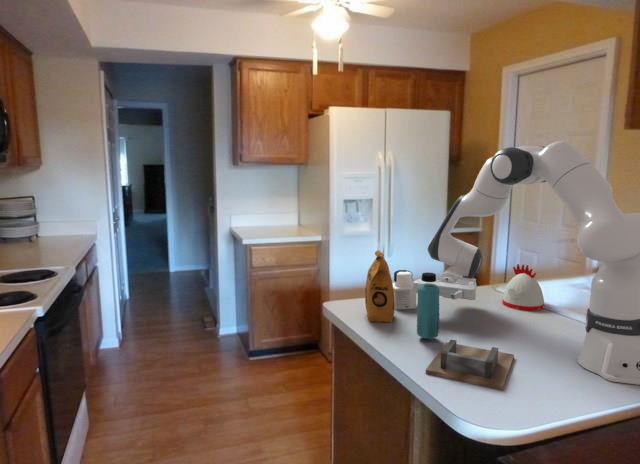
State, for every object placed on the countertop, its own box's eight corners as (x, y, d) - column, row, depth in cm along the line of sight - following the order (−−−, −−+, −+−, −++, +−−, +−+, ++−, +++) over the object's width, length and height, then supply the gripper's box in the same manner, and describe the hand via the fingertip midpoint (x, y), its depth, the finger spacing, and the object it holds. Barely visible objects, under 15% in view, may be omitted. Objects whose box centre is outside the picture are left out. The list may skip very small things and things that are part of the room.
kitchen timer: (512, 297, 179) (515, 259, 176) (549, 305, 169) (552, 264, 166) (495, 304, 169) (497, 264, 167) (533, 313, 159) (536, 271, 157)
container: (389, 303, 172) (390, 269, 170) (409, 302, 173) (410, 268, 171) (395, 309, 164) (395, 274, 162) (416, 308, 165) (417, 273, 163)
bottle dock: (513, 358, 124) (514, 340, 123) (502, 390, 106) (503, 369, 106) (445, 345, 132) (446, 328, 132) (425, 373, 115) (426, 354, 114)
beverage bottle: (439, 344, 133) (441, 276, 130) (415, 342, 134) (417, 275, 131) (438, 336, 139) (440, 271, 136) (415, 334, 141) (417, 270, 138)
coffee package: (363, 322, 152) (364, 256, 148) (365, 310, 164) (365, 249, 160) (394, 323, 150) (395, 257, 147) (393, 311, 162) (394, 249, 159)
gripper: (419, 272, 161) (406, 281, 149) (480, 278, 151) (471, 289, 139) (418, 289, 162) (405, 300, 150) (479, 297, 152) (471, 309, 140)
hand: (438, 294), depth 144 cm, fingers open, 8 cm apart
